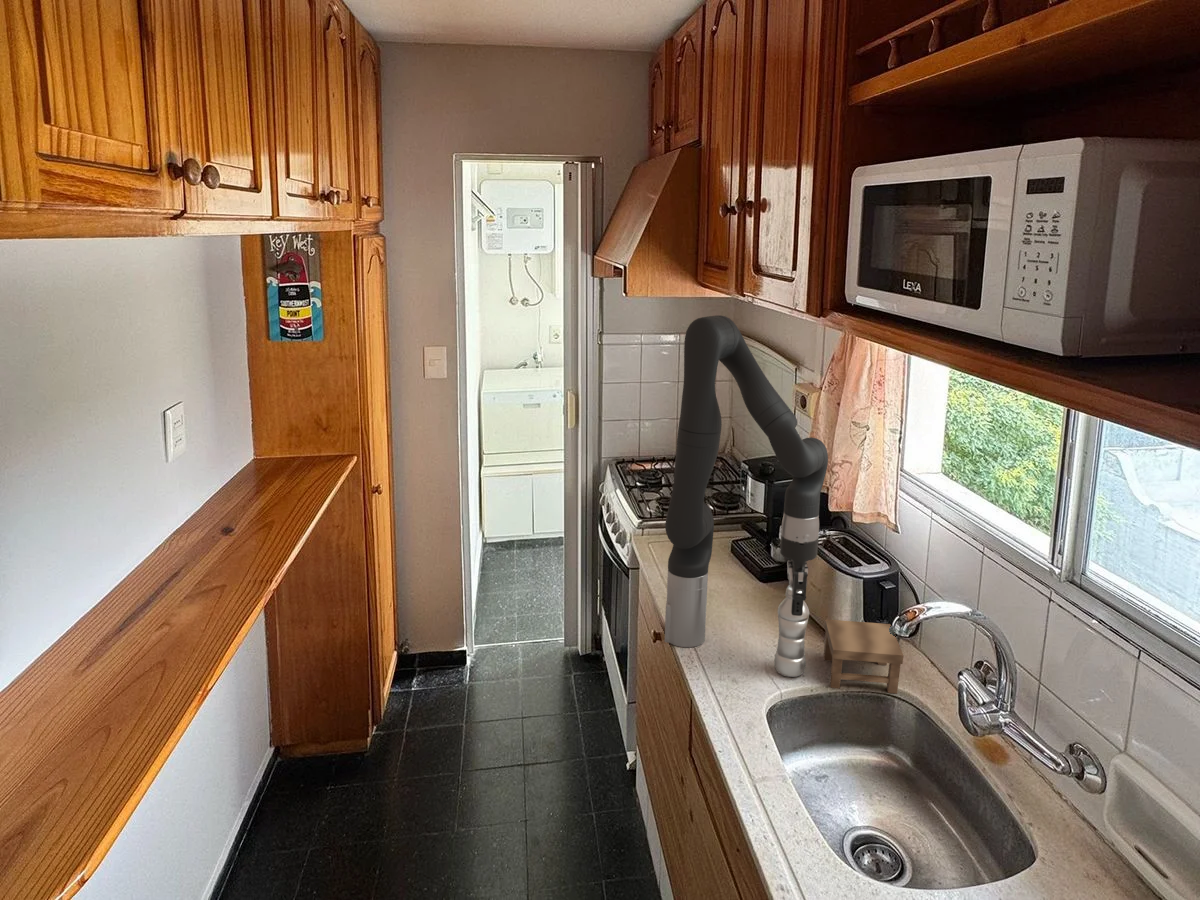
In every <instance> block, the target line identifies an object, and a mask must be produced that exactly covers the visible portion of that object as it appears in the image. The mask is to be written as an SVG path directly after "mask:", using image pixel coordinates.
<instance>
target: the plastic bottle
mask: <svg viewBox="0 0 1200 900" xmlns="http://www.w3.org/2000/svg"><path fill="white" fill-rule="evenodd" d="M796 593H802V589H797V590H796ZM784 595H785V598H784V599H783V600H782V601H781V602H780V604H779V605H778V607H777V620H778V622H777V623H778V641H777V646H776V651H775V655H774V660H773V662H774V663H773V664H774V668H775V670H776V672H777V673H779V674H780V675H781V676H783V677H788V678H796V677H800V676H801V675H802V674H803V673H804V672H805V670H806V666H807V662H806V660H807V659H806V654H805V653H806V652H805V639H806V631H807V626H808V622H809V617H810V610H809V607H808V605H807V603H806V602H805V600H803V613H802V615H801V616H795V615H792V613H791V608H792V597H791V595H792V588H790V585H789V584H788V585H787V586H786V590H785V593H784Z"/></svg>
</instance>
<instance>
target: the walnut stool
mask: <svg viewBox="0 0 1200 900" xmlns="http://www.w3.org/2000/svg"><path fill="white" fill-rule="evenodd" d="M824 621H825V622H824V630H825V635H824V636H825V637H824V638H825V639H824V648H823V660H824V661H828V662H831V665H830V667H831V668H830V676H829V677H830V678H829V685H830V688H831V689H840V688H841V680H846V681H856V682H871V683H883V684H886V691H887V693H888V694H898V690H899V681H900V672H901V665H903V664H904V653H903V651H902V649H901V648H902V647H900V644H899V641H898V639H897V636H896V635H895V636H896V637H895V636H893V635H892V634H890V632H889V628H890V626H891V627H892V625H891V623H881V622H880V623H879V622H868V621H866V622H864V621H851V620H839V619H827V618H826V619H825V620H824ZM844 660H845V661H856V662H857V661H859V662H869V663H877V665H878V666H887V665H888V672H887V675H886V676H885V675H875V674H874V675H873V674H863V673H850V672H842V670H843V661H844Z"/></svg>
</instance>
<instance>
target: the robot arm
mask: <svg viewBox="0 0 1200 900" xmlns="http://www.w3.org/2000/svg"><path fill="white" fill-rule="evenodd" d="M683 359H684V360H683V385H682V386H683V387H682V395H681V404H680V405H681V406H680V416H679V421H678V428H677V437H676V438H677V439H676V449H675V451H676V452H675V459H674V473H673V485H672V492H671V495H670V500H669V505H668V509H667V514H666V517H665V525H664V526H665V527H664V529H665V532H666V536H667V538H668V540H669V541H670V543H671V544H672V548H671V551H670V553H669V554H670V555H669V556H668V559H667V583H666V584H667V585H666V586H667V587H666V589H667V590H666V601H665V616H664V617H665V619H664V621H665V622H664V623H665V624H664V643H668V644H671V645H673V646H675V647H676V646H677V647H680V648H681V647H682V648H694V647H698V646H700V645H702V644H703V643H704V642H705V639H706V625H707V624H706V620H707V603H708V602H707V601H708V600H707V599H708V581H709V579H708V578H709V567H710V566H709V565H710V561H711V558H712V553H713V543H714V541H713V540H714V532H715V531H714V529H715V527H714V526H715V520H714V519H715V518H714V515H713V512H712V510H711V508H710V507H709V505H708V504H706V502H705V496H706V490H707V486H708V483H709V481H710V478H711V476H712V472H713V470H714V466H715V463H716V461H717V457H718V454H719V449H720V441H721V434H722V421H723V420H722V414H721V410H720V406H719V403H718V398H717V394H716V377H717V371H718V365H719V362H721V364H722V365H723V366H725V368H726V369H727V371H729V372H730V374H731V376H733V378H734V380H735V382H736V383H737V386H738V388H739V390H740V394H741V397H742V400H743V402H744V405H745V407H746V408H747V411H748V413H749V414H750V416H751V417H752V418H753V420H754V421H755V423H756V424H757V425H758V426H759V428H760V430H761V431H762V432H763V433H764V434H765V436H766V437H767V438H768V441H769V443H770V447H771V449H772V450H773V452H774V455H775V457H776V459H777V461H778V462H779V464H780V467H782V469H784V471H785V472H787V474H789V475H791V476H792V480H791V482H790V484H789V485H788V486H787V488H786V490H785V493H784V502H783V503H784V504H783V515H782V516H783V517H782V521H781V530H780V531H781V532H780V533H781V534H780V548H779V553H780V555H781V556H782V557H784V559H787V563H786V565H787V570H786V571H787V573H786V574H787V579H788V585H790V588H792V595H791V597H792V608H791V613H792V615H795V616H801V615H802V613H803V600H804V601H806V599H807V586H808V574H809V566H808V563H807V562H808V561H809V562H810V561H813V560H815V559H816V558H817V556H818V546H819V536H820V535H819V534H820V533H819V532H820V518H819V517H820V501H821V492H822V488H823V485H824V481H825V478H826V474H827V469H828V465H829V464H828V463H829V455H828V453H829V452H828V450H827V447H826V445H825V443H823V441H822V440H820V439H818V438H817V437H812V436H811V437H805V438H803V439H802V437H801V435H800V434H799V432H798V431H797V428H796V427H797V426H798V418H797V417H796V415H795V414H794V412H793V410H792V409H790V407H789V406H788V404H787V403H786V402H785V400H784V399H783V398H782V397H781V396H780V394H779V393H778V392H777V390H776V389H775V388H774V386H773V385H772V383H771V382H770V381H769V379H768V378H767V376H766V375H765V373H764V372H763V370H762V368H761V366H760V364H758V361H757V360H756V358H755V356H754V355H753V353H752V351H751V349H750V348H749V346H748V344H747V342H746V341H745V338H744V337H743V335H742V333H741V331H740V329H739V328H738V326H737V324H736V323H735V322H734V321H733V320H732V319H731V318H730V317H728V316H726V315H719V314H718V315H717V314H716V315H710V316H703V317H698V318H696V319H694V320H693V321H691V322H690V324H689V325H688V327H687V329H686V332H685V335H684V344H683ZM797 589H802V593H796V590H797Z"/></svg>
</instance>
